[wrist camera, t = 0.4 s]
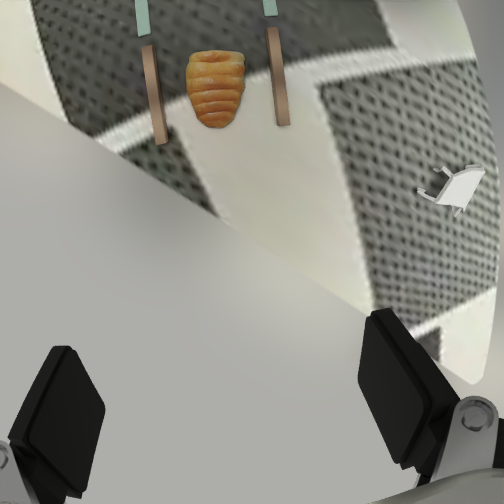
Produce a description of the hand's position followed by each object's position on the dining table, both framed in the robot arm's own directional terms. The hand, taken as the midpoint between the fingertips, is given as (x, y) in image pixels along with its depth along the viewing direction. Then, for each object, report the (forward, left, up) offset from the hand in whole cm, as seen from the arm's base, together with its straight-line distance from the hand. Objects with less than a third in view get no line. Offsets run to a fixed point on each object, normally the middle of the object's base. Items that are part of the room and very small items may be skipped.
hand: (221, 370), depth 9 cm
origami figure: (+4, +33, -32) cm, 46 cm away
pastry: (-11, +1, -33) cm, 34 cm away
